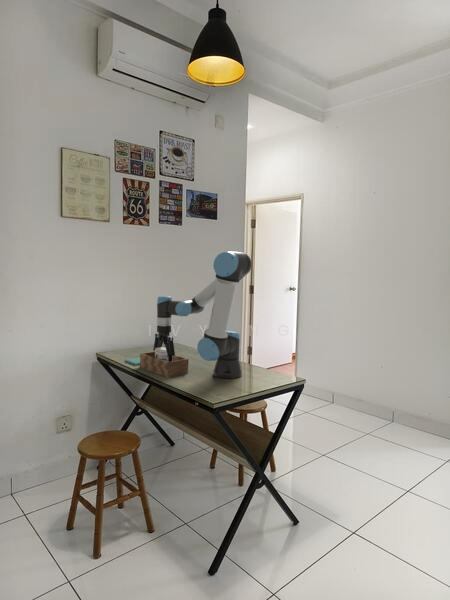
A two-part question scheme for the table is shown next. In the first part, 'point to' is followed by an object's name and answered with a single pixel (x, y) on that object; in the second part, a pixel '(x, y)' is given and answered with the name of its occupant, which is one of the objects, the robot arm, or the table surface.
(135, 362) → the zone mat
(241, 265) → the robot arm
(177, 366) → the crate
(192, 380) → the table surface
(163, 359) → the ink box
